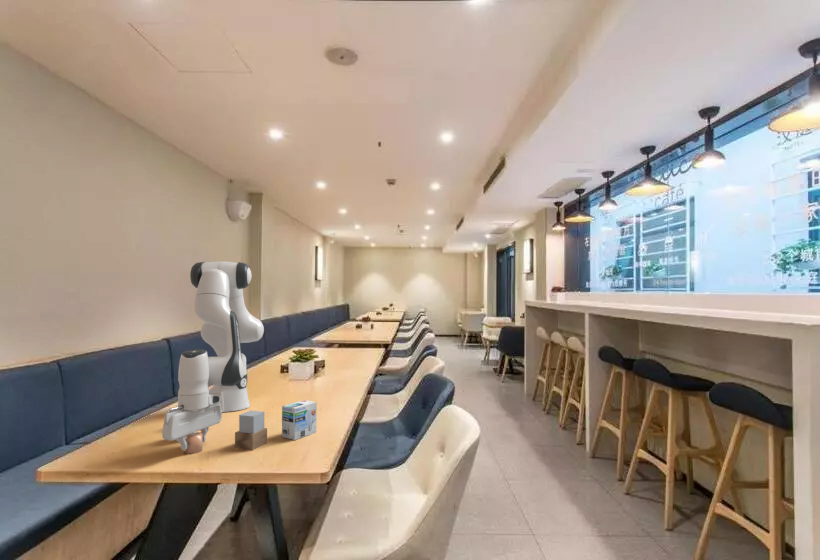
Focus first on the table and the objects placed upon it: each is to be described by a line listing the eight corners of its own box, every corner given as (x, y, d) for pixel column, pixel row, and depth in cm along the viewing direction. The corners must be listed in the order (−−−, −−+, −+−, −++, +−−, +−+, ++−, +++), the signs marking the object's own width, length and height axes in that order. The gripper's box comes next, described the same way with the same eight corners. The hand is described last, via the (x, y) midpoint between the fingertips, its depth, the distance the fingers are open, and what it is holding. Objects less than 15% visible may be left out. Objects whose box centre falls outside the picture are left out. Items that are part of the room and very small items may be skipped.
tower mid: (239, 432, 139) (239, 415, 139) (250, 427, 144) (250, 410, 144) (253, 433, 137) (253, 416, 137) (264, 428, 142) (264, 411, 143)
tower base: (234, 448, 138) (235, 432, 139) (250, 441, 145) (250, 426, 145) (252, 450, 136) (252, 434, 136) (267, 443, 143) (267, 428, 143)
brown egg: (180, 452, 134) (180, 436, 135) (193, 447, 139) (193, 431, 139) (193, 454, 133) (193, 438, 133) (205, 449, 137) (205, 433, 138)
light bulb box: (294, 440, 144) (294, 408, 145) (281, 437, 148) (281, 405, 148) (317, 432, 154) (317, 401, 154) (303, 429, 157) (303, 399, 157)
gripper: (173, 410, 126) (173, 458, 125) (225, 395, 145) (225, 436, 144) (157, 409, 128) (156, 456, 127) (210, 393, 147) (210, 434, 147)
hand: (193, 445), depth 136 cm, fingers closed on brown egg, 5 cm apart
